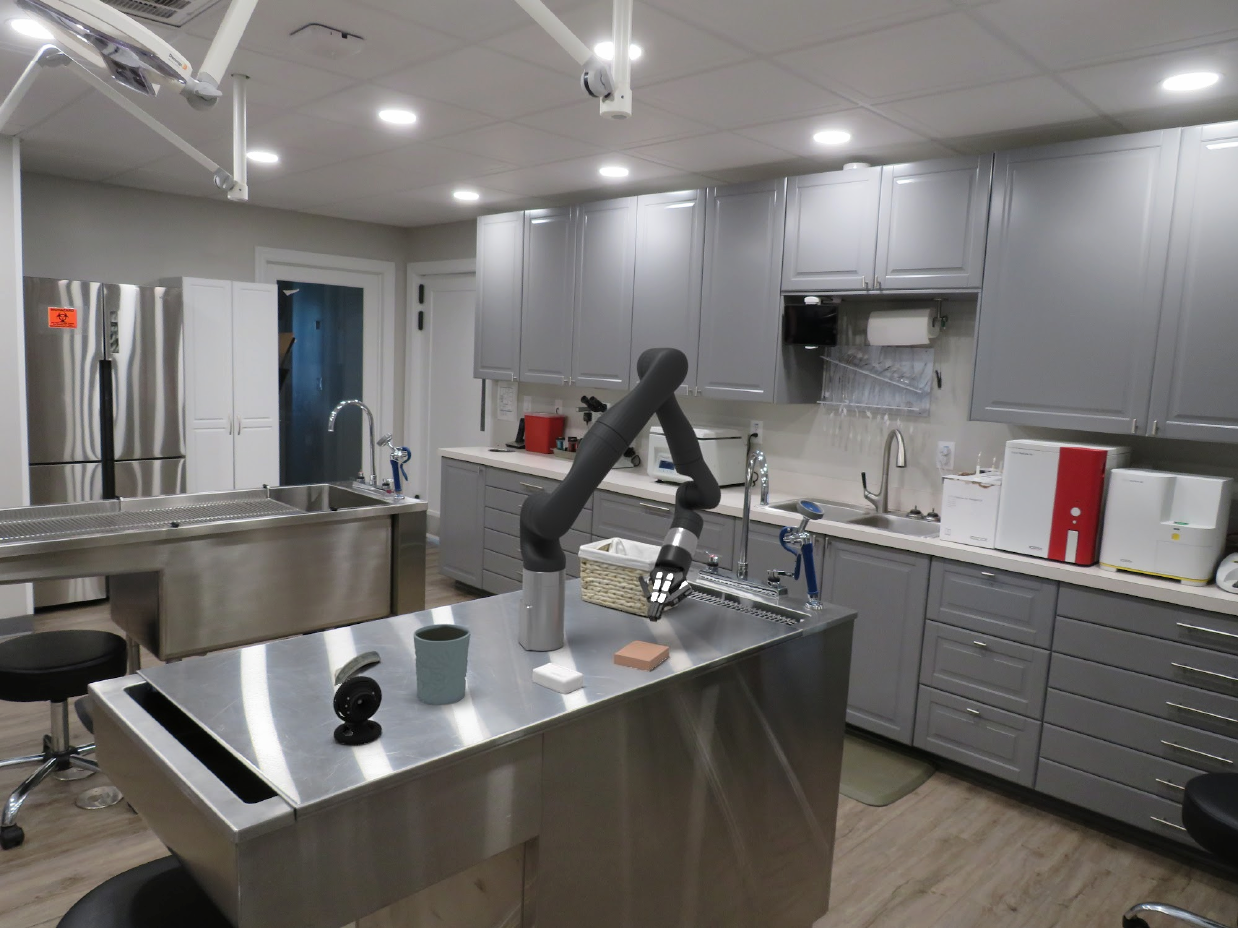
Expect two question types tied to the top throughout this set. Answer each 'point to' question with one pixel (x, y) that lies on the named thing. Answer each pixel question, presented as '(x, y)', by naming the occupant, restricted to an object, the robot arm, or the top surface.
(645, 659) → the terracotta tile
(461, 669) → the green ceramic cup
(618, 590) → the storage basket
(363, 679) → the webcam
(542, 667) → the soap
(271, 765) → the top surface
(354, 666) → the ceramic fragment
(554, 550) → the robot arm
